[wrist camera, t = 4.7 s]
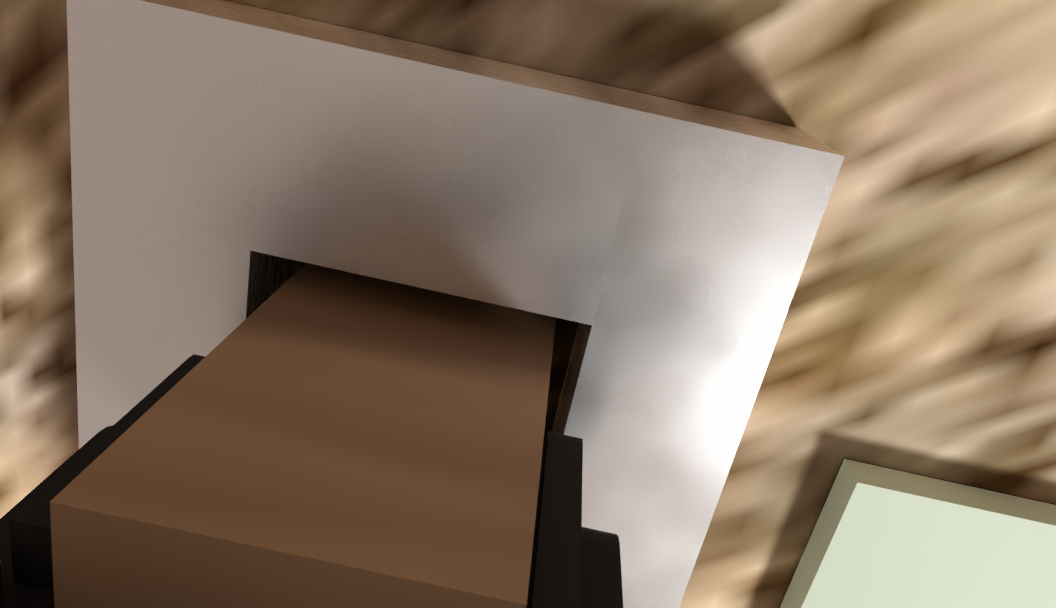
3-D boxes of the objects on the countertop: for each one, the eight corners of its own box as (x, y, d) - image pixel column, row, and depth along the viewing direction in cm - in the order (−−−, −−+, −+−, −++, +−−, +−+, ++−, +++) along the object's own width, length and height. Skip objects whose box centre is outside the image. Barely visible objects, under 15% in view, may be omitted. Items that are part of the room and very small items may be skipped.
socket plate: (160, -14, 13) (66, -17, 10) (798, 127, 13) (844, 156, 11) (146, 828, 21) (92, 930, 19) (533, 910, 21) (526, 1021, 19)
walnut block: (329, 241, 14) (49, 501, 7) (558, 291, 14) (526, 605, 7) (307, 437, 16) (63, 817, 9) (513, 482, 16) (448, 899, 9)
